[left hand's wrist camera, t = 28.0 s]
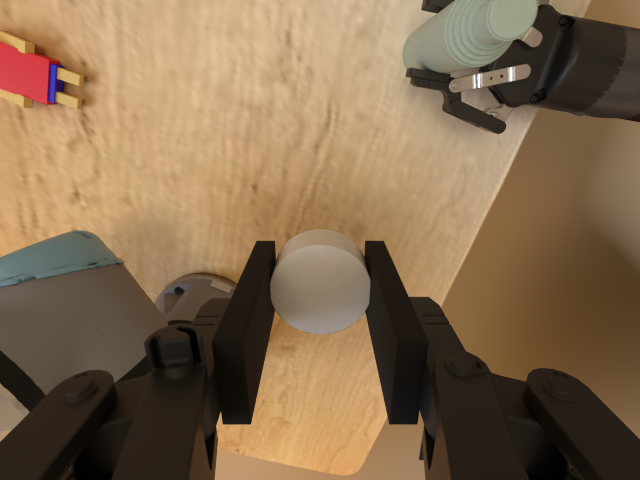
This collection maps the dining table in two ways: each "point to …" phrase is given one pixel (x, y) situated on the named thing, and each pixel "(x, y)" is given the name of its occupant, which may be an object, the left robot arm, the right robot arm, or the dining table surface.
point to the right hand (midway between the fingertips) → (416, 39)
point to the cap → (320, 282)
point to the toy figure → (33, 75)
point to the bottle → (468, 34)
